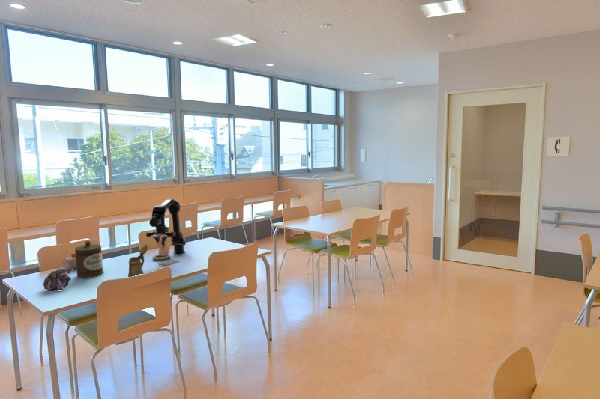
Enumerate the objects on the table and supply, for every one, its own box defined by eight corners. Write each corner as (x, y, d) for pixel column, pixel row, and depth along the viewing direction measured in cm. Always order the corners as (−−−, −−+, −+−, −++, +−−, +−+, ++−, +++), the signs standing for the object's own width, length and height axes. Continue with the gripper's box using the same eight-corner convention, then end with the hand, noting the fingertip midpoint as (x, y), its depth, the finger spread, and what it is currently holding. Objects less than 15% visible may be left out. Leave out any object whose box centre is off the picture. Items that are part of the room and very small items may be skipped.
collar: (163, 255, 300) (163, 253, 300) (173, 258, 293) (173, 255, 293) (149, 259, 291) (149, 256, 290) (159, 262, 284) (159, 259, 283)
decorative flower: (33, 276, 225) (56, 261, 237) (36, 291, 230) (59, 276, 243) (53, 285, 221) (75, 270, 234) (56, 300, 227) (78, 285, 239)
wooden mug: (152, 272, 259) (150, 245, 257) (132, 278, 249) (130, 250, 246) (144, 270, 265) (143, 243, 262) (125, 275, 254) (123, 248, 252)
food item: (67, 271, 264) (66, 257, 263) (62, 269, 269) (61, 255, 268) (88, 266, 275) (87, 252, 273) (83, 264, 280) (82, 250, 278)
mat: (172, 259, 290) (172, 259, 290) (180, 261, 284) (180, 261, 284) (157, 263, 279) (157, 263, 279) (165, 266, 274) (165, 265, 274)
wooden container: (89, 279, 248) (86, 244, 245) (71, 276, 253) (68, 242, 250) (108, 272, 262) (105, 239, 259) (91, 270, 267) (88, 237, 264)
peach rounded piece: (160, 255, 283) (162, 243, 286) (170, 255, 282) (171, 243, 285) (153, 252, 272) (155, 239, 274) (163, 252, 271) (165, 239, 274)
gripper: (178, 221, 281) (179, 243, 283) (152, 221, 283) (153, 243, 285) (171, 225, 270) (173, 247, 272) (145, 224, 272) (146, 247, 274)
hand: (161, 246), depth 276 cm, fingers closed on peach rounded piece
